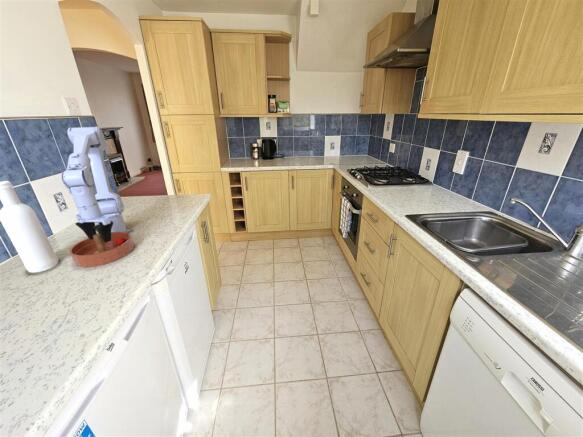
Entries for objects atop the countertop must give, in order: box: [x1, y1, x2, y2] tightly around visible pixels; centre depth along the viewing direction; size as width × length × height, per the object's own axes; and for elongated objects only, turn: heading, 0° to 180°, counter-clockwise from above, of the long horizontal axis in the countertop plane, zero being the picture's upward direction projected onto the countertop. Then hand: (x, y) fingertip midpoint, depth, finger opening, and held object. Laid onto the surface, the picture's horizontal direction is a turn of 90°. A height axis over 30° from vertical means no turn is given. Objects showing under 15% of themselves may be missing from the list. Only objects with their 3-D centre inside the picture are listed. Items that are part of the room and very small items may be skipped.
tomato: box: [116, 238, 125, 245], centre depth 95 cm, size 3×3×3 cm
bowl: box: [68, 232, 135, 268], centre depth 89 cm, size 18×18×5 cm
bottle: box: [0, 180, 59, 274], centre depth 78 cm, size 8×8×30 cm
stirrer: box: [93, 233, 111, 254], centre depth 88 cm, size 6×6×8 cm
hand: (100, 239), depth 88 cm, fingers open, 7 cm apart
